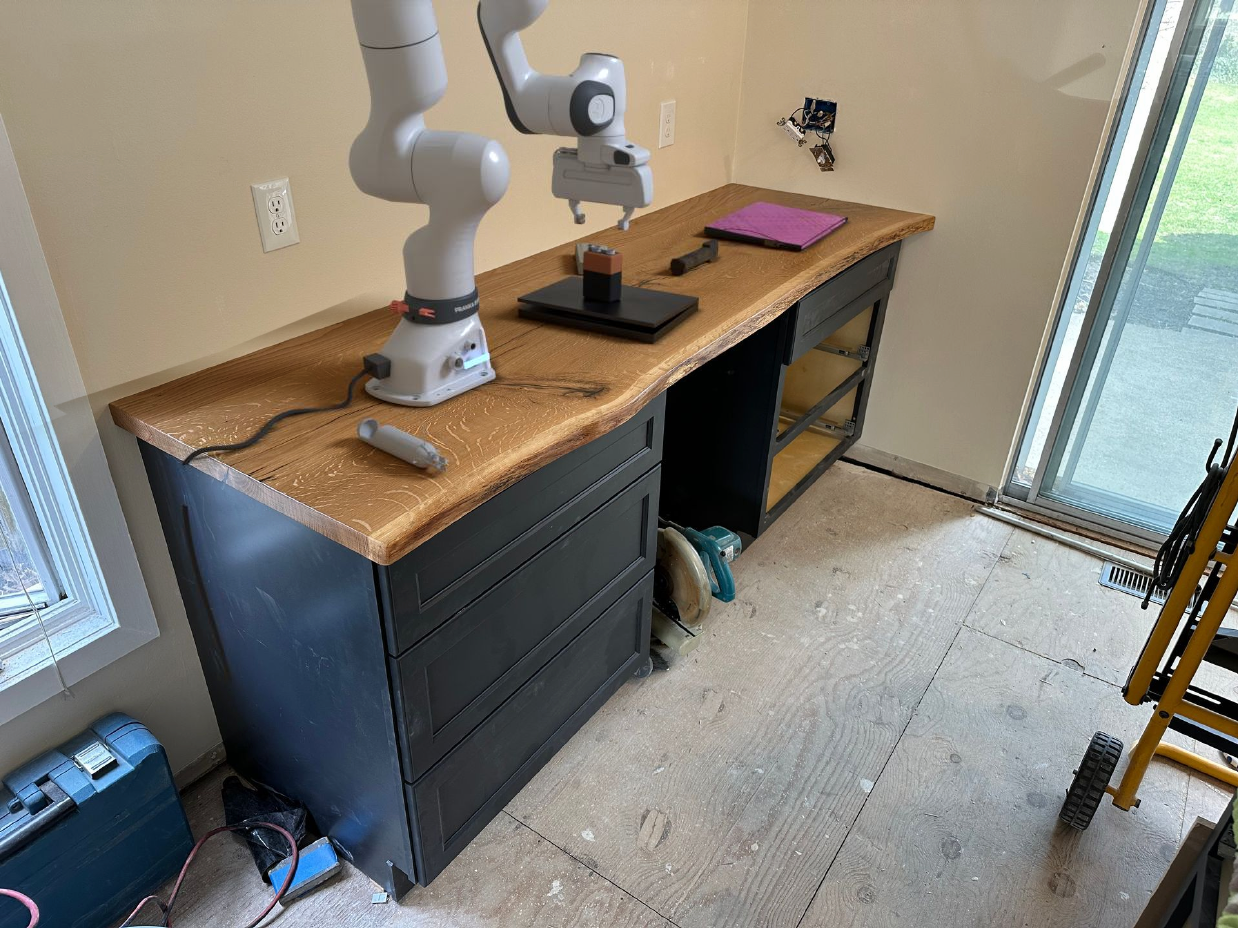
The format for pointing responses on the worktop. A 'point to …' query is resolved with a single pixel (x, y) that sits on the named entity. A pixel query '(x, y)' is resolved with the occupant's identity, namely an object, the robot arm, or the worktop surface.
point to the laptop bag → (775, 226)
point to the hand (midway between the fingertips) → (601, 226)
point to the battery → (602, 274)
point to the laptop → (605, 322)
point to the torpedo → (401, 444)
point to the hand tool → (695, 258)
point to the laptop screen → (629, 308)
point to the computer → (579, 254)
